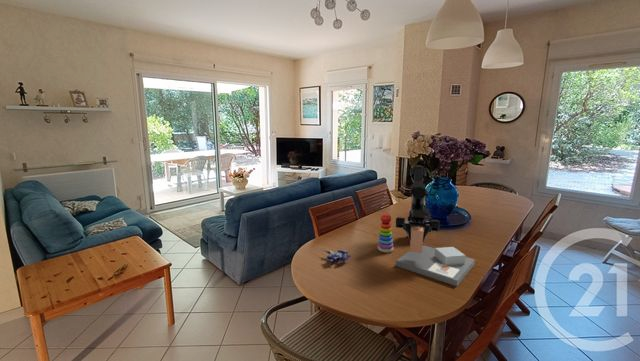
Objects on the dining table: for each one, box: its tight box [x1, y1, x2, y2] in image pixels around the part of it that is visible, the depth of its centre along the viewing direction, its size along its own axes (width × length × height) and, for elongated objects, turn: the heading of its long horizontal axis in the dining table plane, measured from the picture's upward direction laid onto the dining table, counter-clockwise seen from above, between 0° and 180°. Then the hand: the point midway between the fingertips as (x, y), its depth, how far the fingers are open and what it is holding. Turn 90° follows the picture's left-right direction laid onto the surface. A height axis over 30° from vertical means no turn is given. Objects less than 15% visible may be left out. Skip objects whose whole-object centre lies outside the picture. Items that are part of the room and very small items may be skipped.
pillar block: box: [409, 226, 424, 253], centre depth 133 cm, size 5×5×11 cm
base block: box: [434, 246, 466, 265], centre depth 134 cm, size 9×9×4 cm
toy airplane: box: [320, 249, 351, 265], centre depth 140 cm, size 13×14×4 cm
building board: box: [395, 244, 476, 287], centre depth 134 cm, size 26×24×3 cm
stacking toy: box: [376, 213, 395, 254], centre depth 149 cm, size 8×8×19 cm
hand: (416, 241), depth 132 cm, fingers closed on pillar block, 5 cm apart
